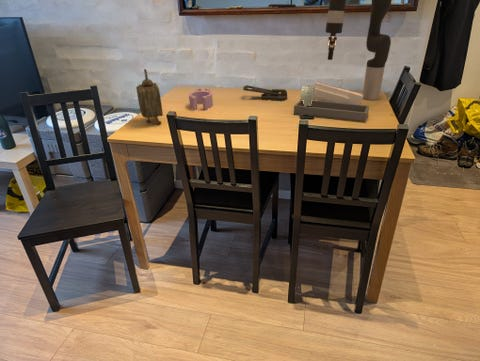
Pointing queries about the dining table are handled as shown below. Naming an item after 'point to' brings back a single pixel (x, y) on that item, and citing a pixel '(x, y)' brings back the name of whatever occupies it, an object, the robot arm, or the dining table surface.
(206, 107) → the clip
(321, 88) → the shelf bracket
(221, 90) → the dining table surface
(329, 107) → the grey rectangular tray
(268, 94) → the black elongated piece
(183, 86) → the dining table surface
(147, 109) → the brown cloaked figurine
